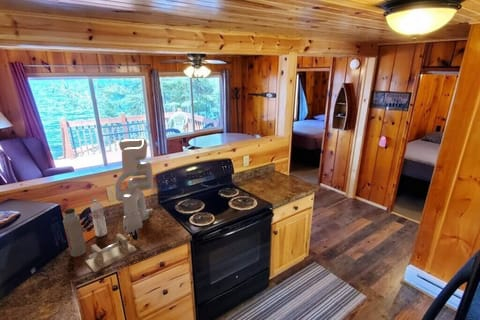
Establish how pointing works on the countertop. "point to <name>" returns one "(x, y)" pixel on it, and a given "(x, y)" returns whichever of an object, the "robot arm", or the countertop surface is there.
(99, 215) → the water bottle
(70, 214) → the thermos bottle
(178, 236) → the countertop surface
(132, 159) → the robot arm
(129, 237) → the shaft
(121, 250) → the bracket
